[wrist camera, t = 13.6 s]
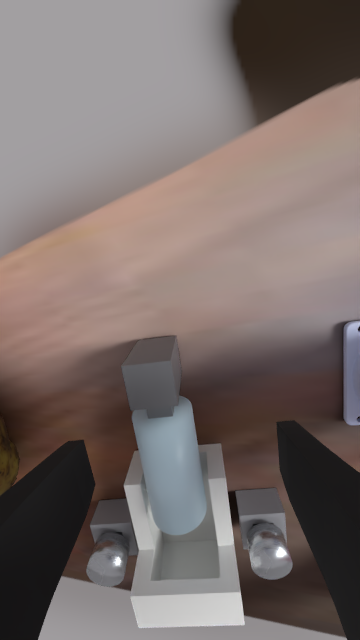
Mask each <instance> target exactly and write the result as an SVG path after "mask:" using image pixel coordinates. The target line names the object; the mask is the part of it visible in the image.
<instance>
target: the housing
mask: <svg viewBox="0 0 360 640" xmlns="http://www.w3.org/2000/svg"><path fill="white" fill-rule="evenodd" d="M198 449H199V456H200V463H201V469H202V476H203V483H204V489H205V496H206V503H207V510H206V514H205V517H204V519H203V520H202V522H201V523H200V525H199V526H198V527H197V528H195V529H194V530H192V531H191V532H189V533H186V534H183V535H170V534H167V533H165V532H163V531H161V530H160V529H159V528H158V527H157V526H156V524H155V522H154V520H153V515H152V511H151V506H150V501H149V497H148V492H147V487H146V483H145V478H144V473H143V469H142V464H141V459H140V454H139V450H138V451H134V453H133V457H132V460H131V463H130V466H129V470H128V473H127V476H126V479H125V483H124V489H125V493H126V498H127V499H113V500H99V503H98V505H97V508H96V510H95V513H94V516H93V518H92V521H91V523H90V528H91V531H92V535H93V538H94V542H96V540H97V538H98V537H99V536H100V535H102V534H105V533H114V532H122V536H123V537H124V538H126V540H127V541H128V542H129V545H130V551H129V555H138V558H137V563H136V568H135V574H134V579H133V584H132V590H131V595H130V597H131V601H132V605H133V609H134V613H135V617H136V620H137V624H138V628H156V627H190V626H226V625H245V622H244V614H243V606H242V598H241V590H240V583H239V576H238V569H237V561H236V554H235V547H234V539H233V531H232V523H231V515H230V507H229V499H228V491H227V484H226V476H225V469H224V462H223V455H222V447H221V443H218V444H206V445H198ZM235 493H236V501H237V510H238V518H239V525H240V531H241V537H242V543H243V549H248V544H247V533H248V531H249V530H250V529H251V528H252V527H253V526H255V524H262V523H269V524H273V525H275V526H277V527H279V528H280V529H281V530H282V532H283V534H284V537H285V540H286V544H287V538H286V523H285V512H284V509H283V506H282V503H281V500H280V498H279V495H278V492H277V489H276V488H267V489H253V490H239V491H235Z"/></svg>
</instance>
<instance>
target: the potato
mask: <svg viewBox="0 0 360 640" xmlns="http://www.w3.org/2000/svg"><path fill="white" fill-rule="evenodd" d="M19 460H20V459H19V454H18V451H17V449H16V446H15V445H14V444H13V443H12V442H11V441H9V437H8V432H7V429H6V425H5V423H4V420H3V418H2V415H1V414H0V495H2V494H3V493H4V492H6V491H7V490H8V489H9V488H10V487H11V486H12V485H13V484H14V482H15V480H16V479H17V478H16V476H17V474H18V469H19Z"/></svg>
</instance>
